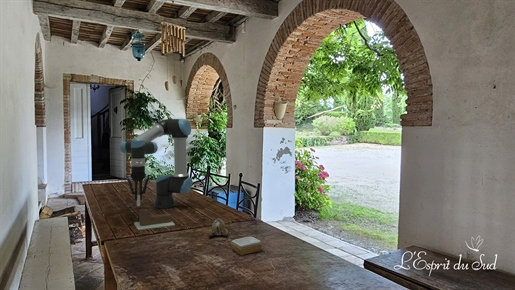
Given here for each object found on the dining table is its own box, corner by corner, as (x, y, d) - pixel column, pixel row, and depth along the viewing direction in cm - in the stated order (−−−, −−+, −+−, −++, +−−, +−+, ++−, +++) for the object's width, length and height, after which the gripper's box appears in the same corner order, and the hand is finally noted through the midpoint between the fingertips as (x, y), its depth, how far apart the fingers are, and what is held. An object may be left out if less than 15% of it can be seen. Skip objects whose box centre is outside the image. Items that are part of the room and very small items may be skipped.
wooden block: (140, 211, 189) (171, 207, 197) (139, 209, 192) (169, 206, 201) (140, 226, 189) (171, 222, 198) (139, 224, 193) (169, 220, 202)
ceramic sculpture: (228, 215, 185) (228, 224, 170) (228, 229, 186) (228, 240, 171) (209, 215, 184) (207, 224, 169) (209, 230, 185) (207, 240, 170)
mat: (168, 219, 206) (168, 218, 206) (175, 225, 193) (175, 224, 193) (134, 223, 196) (133, 222, 196) (137, 230, 183) (137, 229, 183)
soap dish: (251, 245, 162) (252, 235, 162) (262, 251, 154) (263, 241, 154) (229, 250, 155) (229, 239, 155) (240, 257, 147) (240, 246, 147)
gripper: (127, 166, 182) (127, 208, 183) (150, 165, 189) (151, 205, 190) (125, 165, 189) (125, 205, 190) (148, 164, 195) (148, 203, 196)
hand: (138, 205), depth 190 cm, fingers closed
